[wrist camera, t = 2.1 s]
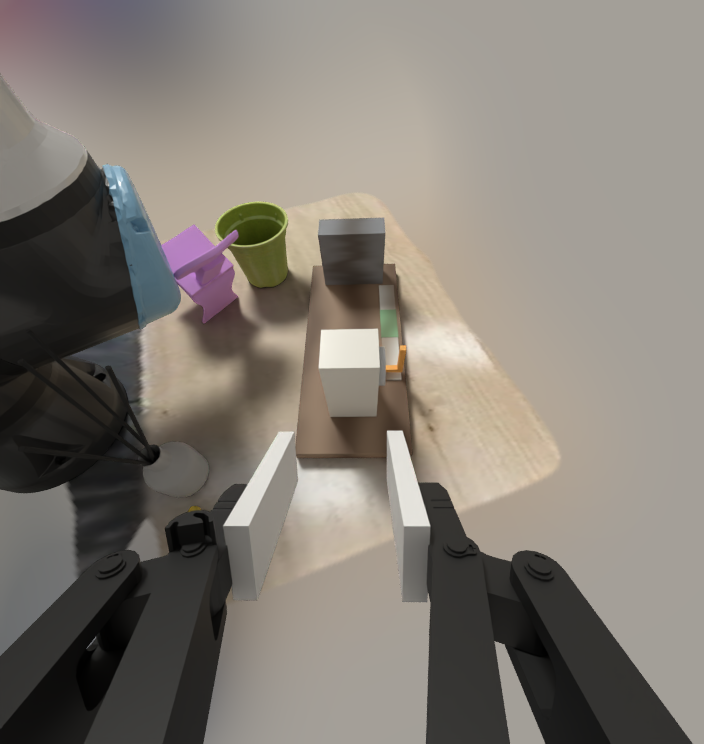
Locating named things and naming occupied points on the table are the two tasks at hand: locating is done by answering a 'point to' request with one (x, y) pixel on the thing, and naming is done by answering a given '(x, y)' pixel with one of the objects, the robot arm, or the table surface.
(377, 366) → the block
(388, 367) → the orange l-shaped piece
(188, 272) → the toy chair
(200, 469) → the reed diffuser
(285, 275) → the plant pot
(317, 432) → the gauge board
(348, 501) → the table surface
